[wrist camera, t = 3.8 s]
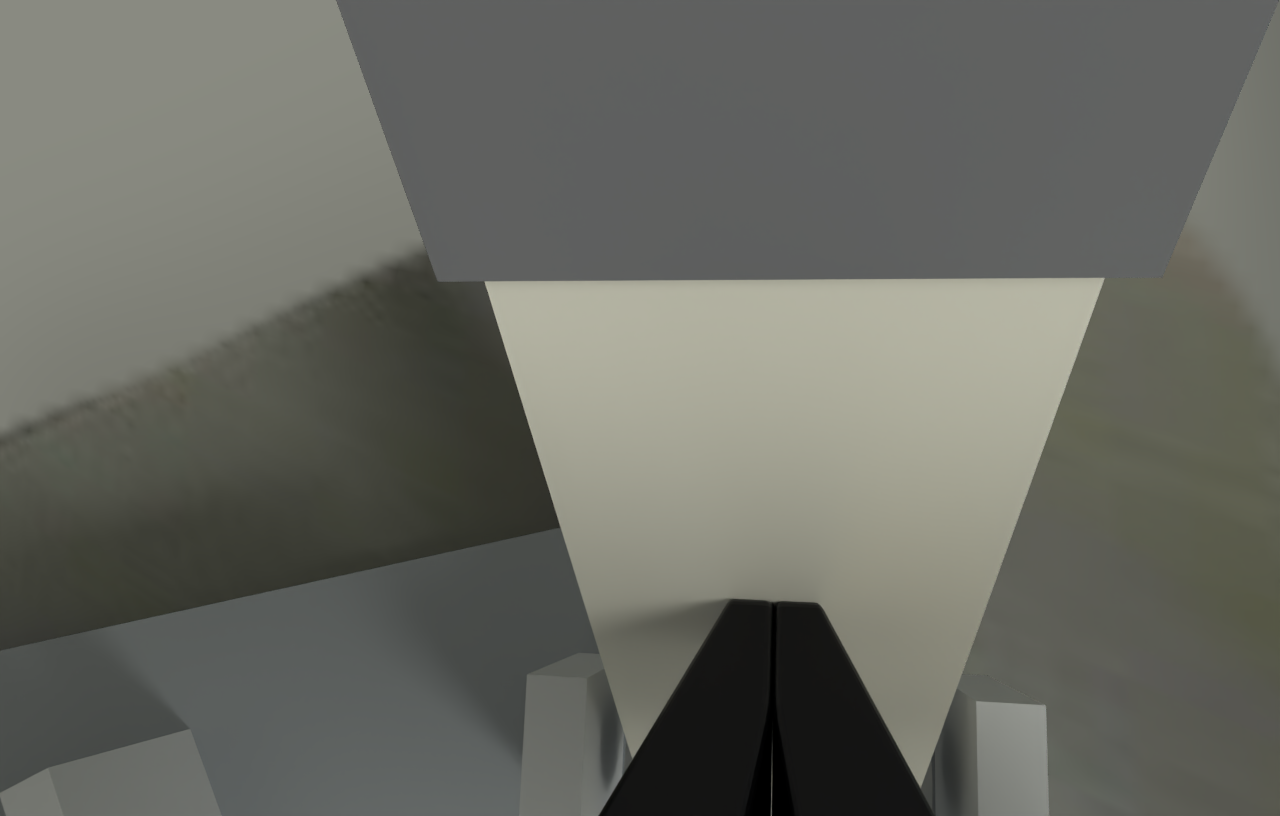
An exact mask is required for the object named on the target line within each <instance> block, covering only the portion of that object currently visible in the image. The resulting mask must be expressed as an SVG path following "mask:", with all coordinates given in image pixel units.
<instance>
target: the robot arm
mask: <svg viewBox="0 0 1280 816" xmlns="http://www.w3.org/2000/svg"><path fill="white" fill-rule="evenodd" d="M771 792H772V816H935V814H934V812H933V810H932V808H931V806H930V805H929V803H928V801H927V799H926V797H925V795H924V794H923V792H922V790H921V788H920V786H919V784H918V782H917V781H916V779H915V777H914V775H913V773H912V771H911V770H910V768H909V766H908V764H907V762H906V760H905V758H904V757H903V755H902V753H901V751H900V749H899V747H898V746H897V744H896V742H895V740H894V738H893V736H892V734H891V733H890V731H889V729H888V727H887V725H886V723H885V722H884V720H883V718H882V716H881V714H880V712H879V711H878V709H877V707H876V705H875V703H874V701H873V699H872V698H871V696H870V694H869V692H868V690H867V688H866V687H865V685H864V683H863V681H862V679H861V677H860V675H859V674H858V672H857V670H856V668H855V666H854V664H853V663H852V661H851V659H850V657H849V655H848V653H847V651H846V650H845V648H844V646H843V644H842V642H841V640H840V639H839V637H838V635H837V633H836V631H835V629H834V627H833V626H832V624H831V622H830V620H829V618H828V616H827V615H826V613H825V611H824V609H823V608H822V607H821V605H820V604H818V603H815V602H791V601H781V602H778V603H777V604H776V605H775V614H774V605H773V604H772V602H770V601H766V600H746V599H732V600H730V601H729V602H728V603H727V604H726V605H725V607H724V609H723V610H722V612H721V614H720V615H719V617H718V619H717V620H716V622H715V624H714V625H713V627H712V628H711V630H710V632H709V633H708V635H707V637H706V638H705V640H704V642H703V643H702V645H701V647H700V648H699V650H698V652H697V653H696V655H695V657H694V658H693V660H692V662H691V663H690V665H689V667H688V668H687V670H686V671H685V673H684V675H683V676H682V678H681V680H680V681H679V683H678V685H677V686H676V688H675V690H674V691H673V693H672V695H671V696H670V698H669V700H668V701H667V703H666V705H665V706H664V708H663V709H662V711H661V713H660V714H659V716H658V718H657V719H656V721H655V723H654V724H653V726H652V728H651V729H650V731H649V733H648V734H647V736H646V738H645V739H644V741H643V743H642V744H641V746H640V748H639V749H638V751H637V752H636V754H635V756H634V757H633V759H632V761H631V762H630V764H629V766H628V767H627V769H626V771H625V772H624V774H623V776H622V777H621V779H620V781H619V782H618V784H617V786H616V787H615V789H614V790H613V792H612V794H611V795H610V797H609V799H608V800H607V802H606V804H605V805H604V807H603V809H602V810H601V812H600V814H599V815H598V816H771Z"/></svg>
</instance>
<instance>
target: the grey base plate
mask: <svg viewBox="0 0 1280 816" xmlns="http://www.w3.org/2000/svg"><path fill="white" fill-rule="evenodd" d="M625 746H626V737H625V734H624V731H623V727H622V724H621V721H620V718H619V714H618V711H617V708H616V705H615V702H614V698H613V695H612V692H611V689H610V685H609V682H608V679H607V676H606V672H605V669H604V666H603V663H602V660H601V656H600V653H599V650H598V647H597V643H596V640H595V637H594V634H593V630H592V627H591V624H590V621H589V618H588V614H587V611H586V608H585V605H584V601H583V598H582V595H581V592H580V588H579V585H578V582H577V579H576V576H575V572H574V569H573V566H572V563H571V559H570V556H569V553H568V550H567V546H566V543H565V540H564V537H563V534H562V530H561V527H560V528H556V529H551V530H547V531H542V532H537V533H533V534H528V535H524V536H519V537H515V538H510V539H506V540H501V541H496V542H492V543H487V544H483V545H478V546H474V547H469V548H465V549H460V550H455V551H451V552H446V553H442V554H437V555H433V556H428V557H424V558H419V559H414V560H410V561H405V562H401V563H396V564H392V565H387V566H383V567H378V568H373V569H369V570H364V571H360V572H355V573H351V574H346V575H342V576H337V577H332V578H328V579H323V580H319V581H314V582H310V583H305V584H301V585H296V586H291V587H287V588H282V589H278V590H273V591H269V592H264V593H260V594H255V595H250V596H246V597H241V598H237V599H232V600H228V601H223V602H219V603H214V604H209V605H205V606H200V607H196V608H191V609H187V610H182V611H178V612H173V613H168V614H164V615H159V616H155V617H150V618H146V619H141V620H137V621H132V622H127V623H123V624H118V625H114V626H109V627H105V628H100V629H96V630H91V631H86V632H82V633H77V634H73V635H68V636H64V637H59V638H55V639H50V640H46V641H41V642H36V643H32V644H27V645H23V646H18V647H14V648H9V649H5V650H0V816H598V815H599V814H600V812H601V810H602V809H603V807H604V805H605V804H606V802H607V800H608V799H609V797H610V795H611V794H612V792H613V790H614V789H615V787H616V786H617V784H618V782H619V781H620V779H621V777H622V776H623V774H624V762H625ZM931 762H932V810H933V812H934V814H935V816H1049V794H1048V761H1047V727H1046V705H1044V704H1042V703H1040V702H1038V701H1036V700H1035V699H1033V698H1031V697H1029V696H1027V695H1025V694H1023V693H1021V692H1019V691H1017V690H1015V689H1013V688H1011V687H1009V686H1007V685H1006V684H1004V683H1002V682H1000V681H998V680H996V679H994V678H992V677H990V676H988V675H971V674H962V675H961V678H960V681H959V683H958V686H957V689H956V692H955V694H954V697H953V700H952V703H951V705H950V708H949V711H948V714H947V717H946V719H945V722H944V725H943V728H942V730H941V733H940V736H939V739H938V742H937V744H936V747H935V750H934V753H933V755H932V758H931Z"/></svg>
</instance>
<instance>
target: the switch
mask: <svg viewBox="0 0 1280 816" xmlns="http://www.w3.org/2000/svg"><path fill="white" fill-rule="evenodd" d="M336 1H337V4H338V7H339V9H340V12H341V15H342V17H343V20H344V23H345V26H346V28H347V31H348V34H349V37H350V40H351V43H352V45H353V48H354V51H355V54H356V56H357V59H358V62H359V65H360V68H361V70H362V73H363V76H364V79H365V81H366V84H367V87H368V90H369V93H370V95H371V98H372V101H373V104H374V106H375V109H376V112H377V115H378V117H379V120H380V123H381V125H382V129H383V131H384V134H385V137H386V140H387V143H388V145H389V148H390V151H391V154H392V156H393V159H394V162H395V164H396V167H397V170H398V173H399V176H400V179H401V181H402V184H403V187H404V190H405V192H406V195H407V198H408V201H409V203H410V206H411V209H412V212H413V215H414V217H415V220H416V223H417V226H418V229H419V231H420V234H421V237H422V240H423V242H424V245H425V248H426V251H427V254H428V256H429V259H430V262H431V265H432V267H433V270H434V273H435V276H436V279H437V281H438V282H459V281H485V285H486V288H487V291H488V294H489V298H490V301H491V304H492V307H493V311H494V314H495V317H496V320H497V323H498V327H499V330H500V333H501V336H502V340H503V343H504V346H505V349H506V353H507V356H508V359H509V362H510V366H511V369H512V372H513V375H514V378H515V382H516V385H517V388H518V391H519V395H520V398H521V401H522V404H523V408H524V411H525V414H526V417H527V420H528V424H529V427H530V430H531V433H532V437H533V440H534V443H535V446H536V450H537V453H538V456H539V459H540V462H541V466H542V469H543V472H544V475H545V479H546V482H547V485H548V488H549V492H550V495H551V498H552V501H553V504H554V508H555V511H556V514H557V517H558V521H559V524H560V527H561V530H562V534H563V537H564V540H565V543H566V546H567V550H568V553H569V556H570V559H571V563H572V566H573V569H574V572H575V576H576V579H577V582H578V585H579V588H580V592H581V595H582V598H583V601H584V605H585V608H586V611H587V614H588V618H589V621H590V624H591V627H592V630H593V634H594V637H595V640H596V643H597V647H598V650H599V653H600V656H601V660H602V663H603V666H604V669H605V672H606V676H607V679H608V682H609V685H610V689H611V692H612V695H613V698H614V702H615V705H616V708H617V711H618V714H619V718H620V721H621V724H622V727H623V731H624V734H625V737H626V746H625V762H624V772H625V771H626V769H627V767H628V766H629V764H630V762H631V761H632V759H633V757H634V756H635V754H636V752H637V751H638V749H639V748H640V746H641V744H642V743H643V741H644V739H645V738H646V736H647V734H648V733H649V731H650V729H651V728H652V726H653V724H654V723H655V721H656V719H657V718H658V716H659V714H660V713H661V711H662V709H663V708H664V706H665V705H666V703H667V701H668V700H669V698H670V696H671V695H672V693H673V691H674V690H675V688H676V686H677V685H678V683H679V681H680V680H681V678H682V676H683V675H684V673H685V671H686V670H687V668H688V667H689V665H690V663H691V662H692V660H693V658H694V657H695V655H696V653H697V652H698V650H699V648H700V647H701V645H702V643H703V642H704V640H705V638H706V637H707V635H708V633H709V632H710V630H711V628H712V627H713V625H714V624H715V622H716V620H717V619H718V617H719V615H720V614H721V612H722V610H723V609H724V607H725V605H726V604H727V603H728V602H729V601H730V600H732V599H746V600H766V601H770V602H772V604H773V605H774V614H775V605H776V604H777V603H778V602H781V601H791V602H815V603H818V604H820V605H821V607H822V608H823V609H824V611H825V613H826V615H827V616H828V618H829V620H830V622H831V624H832V626H833V627H834V629H835V631H836V633H837V635H838V637H839V639H840V640H841V642H842V644H843V646H844V648H845V650H846V651H847V653H848V655H849V657H850V659H851V661H852V663H853V664H854V666H855V668H856V670H857V672H858V674H859V675H860V677H861V679H862V681H863V683H864V685H865V687H866V688H867V690H868V692H869V694H870V696H871V698H872V699H873V701H874V703H875V705H876V707H877V709H878V711H879V712H880V714H881V716H882V718H883V720H884V722H885V723H886V725H887V727H888V729H889V731H890V733H891V734H892V736H893V738H894V740H895V742H896V744H897V746H898V747H899V749H900V751H901V753H902V755H903V757H904V758H905V760H906V762H907V764H908V766H909V768H910V770H911V771H912V773H913V775H914V777H915V779H916V781H917V782H918V784H919V786H920V788H921V790H922V792H923V794H924V795H925V797H926V799H927V801H928V803H929V805H930V806H931V808H932V762H931V758H932V755H933V753H934V750H935V747H936V744H937V742H938V739H939V736H940V733H941V730H942V728H943V725H944V722H945V719H946V717H947V714H948V711H949V708H950V705H951V703H952V700H953V697H954V694H955V692H956V689H957V686H958V683H959V681H960V678H961V675H962V672H963V669H964V667H965V664H966V661H967V658H968V656H969V653H970V650H971V647H972V644H973V642H974V639H975V636H976V633H977V631H978V628H979V625H980V622H981V620H982V617H983V614H984V611H985V608H986V606H987V603H988V600H989V597H990V595H991V592H992V589H993V586H994V583H995V581H996V578H997V575H998V572H999V570H1000V567H1001V564H1002V561H1003V559H1004V556H1005V553H1006V550H1007V547H1008V545H1009V542H1010V539H1011V536H1012V534H1013V531H1014V528H1015V525H1016V522H1017V520H1018V517H1019V514H1020V511H1021V509H1022V506H1023V503H1024V500H1025V498H1026V495H1027V492H1028V489H1029V486H1030V484H1031V481H1032V478H1033V475H1034V473H1035V470H1036V467H1037V464H1038V461H1039V459H1040V456H1041V453H1042V450H1043V448H1044V445H1045V442H1046V439H1047V437H1048V434H1049V431H1050V428H1051V425H1052V423H1053V420H1054V417H1055V414H1056V412H1057V409H1058V406H1059V403H1060V400H1061V398H1062V395H1063V392H1064V389H1065V387H1066V384H1067V381H1068V378H1069V375H1070V373H1071V370H1072V367H1073V364H1074V362H1075V359H1076V356H1077V353H1078V351H1079V348H1080V345H1081V342H1082V339H1083V337H1084V334H1085V331H1086V328H1087V326H1088V323H1089V320H1090V317H1091V314H1092V312H1093V309H1094V306H1095V303H1096V301H1097V298H1098V295H1099V292H1100V290H1101V287H1102V284H1103V281H1104V278H1159V277H1163V274H1164V272H1165V269H1166V267H1167V265H1168V262H1169V260H1170V258H1171V255H1172V253H1173V251H1174V248H1175V246H1176V243H1177V241H1178V239H1179V236H1180V234H1181V232H1182V229H1183V227H1184V224H1185V222H1186V220H1187V217H1188V215H1189V213H1190V210H1191V208H1192V206H1193V203H1194V201H1195V198H1196V196H1197V194H1198V191H1199V189H1200V187H1201V184H1202V182H1203V179H1204V177H1205V175H1206V172H1207V170H1208V168H1209V165H1210V163H1211V160H1212V158H1213V156H1214V153H1215V151H1216V148H1217V146H1218V144H1219V142H1220V139H1221V137H1222V135H1223V132H1224V130H1225V127H1226V125H1227V123H1228V120H1229V118H1230V115H1231V113H1232V111H1233V108H1234V106H1235V103H1236V101H1237V99H1238V97H1239V94H1240V92H1241V90H1242V87H1243V84H1244V82H1245V80H1246V78H1247V75H1248V73H1249V70H1250V68H1251V66H1252V63H1253V61H1254V59H1255V56H1256V54H1257V52H1258V49H1259V47H1260V45H1261V42H1262V40H1263V37H1264V35H1265V32H1266V30H1267V28H1268V26H1269V23H1270V21H1271V18H1272V16H1273V14H1274V11H1275V9H1276V7H1277V4H1278V2H1279V0H336ZM771 816H772V792H771Z"/></svg>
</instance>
